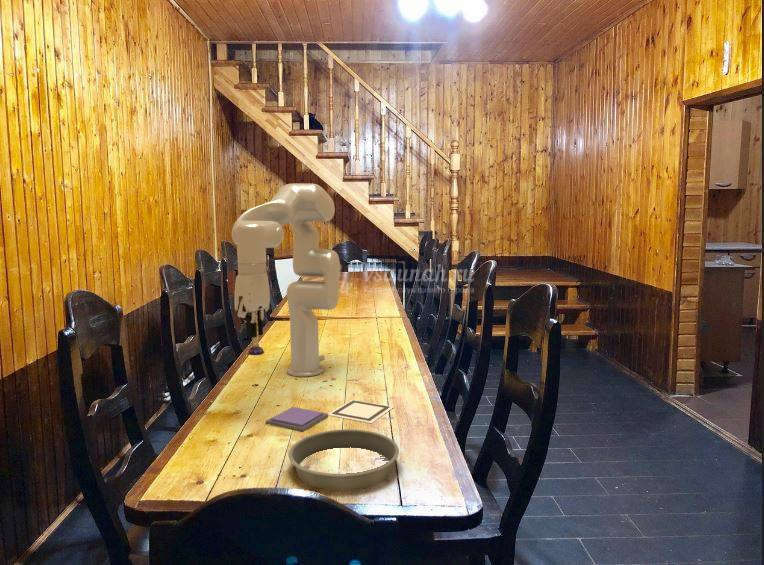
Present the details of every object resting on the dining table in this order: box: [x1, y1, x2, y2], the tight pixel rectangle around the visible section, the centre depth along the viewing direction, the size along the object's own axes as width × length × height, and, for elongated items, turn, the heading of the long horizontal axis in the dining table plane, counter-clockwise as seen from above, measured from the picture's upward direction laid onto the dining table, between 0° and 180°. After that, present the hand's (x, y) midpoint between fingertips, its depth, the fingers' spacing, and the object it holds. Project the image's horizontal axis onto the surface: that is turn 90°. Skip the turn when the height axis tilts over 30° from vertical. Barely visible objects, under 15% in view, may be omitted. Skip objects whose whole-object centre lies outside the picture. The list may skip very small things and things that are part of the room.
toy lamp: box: [248, 306, 265, 356], centre depth 167 cm, size 5×5×17 cm
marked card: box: [327, 399, 395, 424], centre depth 172 cm, size 14×14×1 cm
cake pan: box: [288, 428, 400, 491], centre depth 136 cm, size 25×25×4 cm
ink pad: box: [265, 406, 329, 433], centre depth 165 cm, size 12×12×1 cm
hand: (254, 335), depth 167 cm, fingers closed on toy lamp
